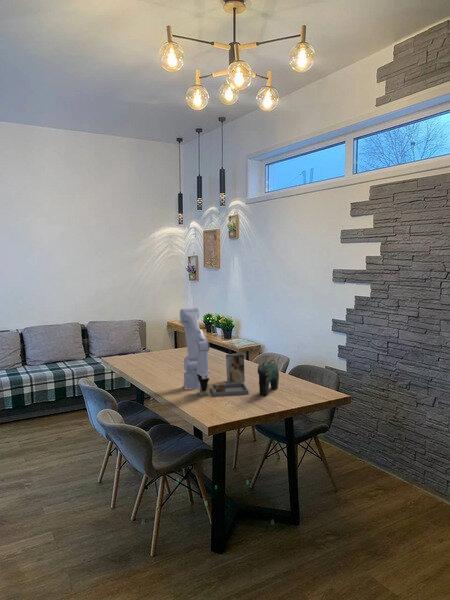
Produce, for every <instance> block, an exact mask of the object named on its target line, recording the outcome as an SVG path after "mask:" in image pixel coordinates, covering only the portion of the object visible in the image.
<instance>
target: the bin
mask: <svg viewBox="0 0 450 600" xmlns="http://www.w3.org/2000/svg"><path fill="white" fill-rule="evenodd" d="M211 392H212V395H213V397H223V396H225V397H227V396H241V395H242V396H243V395H244V396H245V395H249V394H250V392H249V388H248V387H247V385H246V384H245V382H239V383H225V392H216V384H211Z"/></svg>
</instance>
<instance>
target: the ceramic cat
mask: <svg viewBox="0 0 450 600" xmlns="http://www.w3.org/2000/svg"><path fill="white" fill-rule="evenodd" d="M267 358H268V359H269V358H270V356H269V355H266V356H265V360H264V362H260V363H259V364H258V366H257V374H258V388H259V396H260V397H268V396H269V390H270V389H272V390H275V391H276V390H278V389H279V381H280V372H279V369H278V365H277V363H276V361H275V360H274V359H270V360H269V361H268V362H267ZM272 361H273V362H272ZM269 388H270V389H269Z"/></svg>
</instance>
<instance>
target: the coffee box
mask: <svg viewBox="0 0 450 600" xmlns="http://www.w3.org/2000/svg"><path fill="white" fill-rule="evenodd" d="M244 358H245V356H244V354H242V353H241V352H240V353H239V352H238V353H228V354H227V353H226V354H225V363H226V365H225V366H226V382H227V383H228V384H234V383H245V381H246V379H245V377H246V376H245V359H244Z"/></svg>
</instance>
